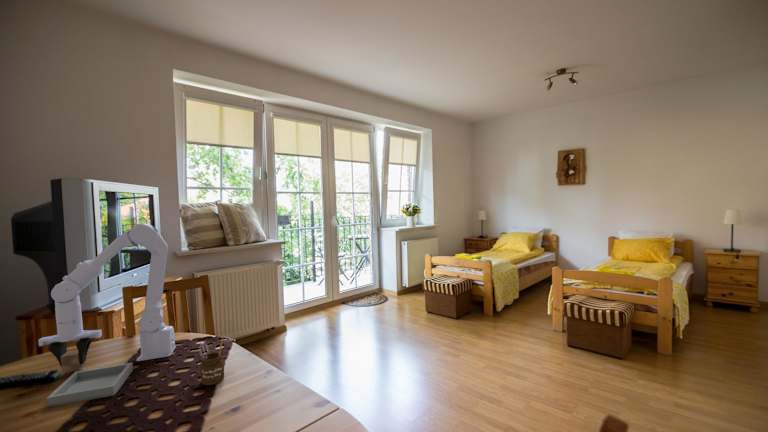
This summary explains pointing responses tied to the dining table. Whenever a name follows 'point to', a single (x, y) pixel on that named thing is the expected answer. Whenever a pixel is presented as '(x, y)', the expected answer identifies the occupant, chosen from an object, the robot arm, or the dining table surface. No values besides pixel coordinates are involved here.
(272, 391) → the dining table surface
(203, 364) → the utensil holder
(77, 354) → the walnut block
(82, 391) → the tray
